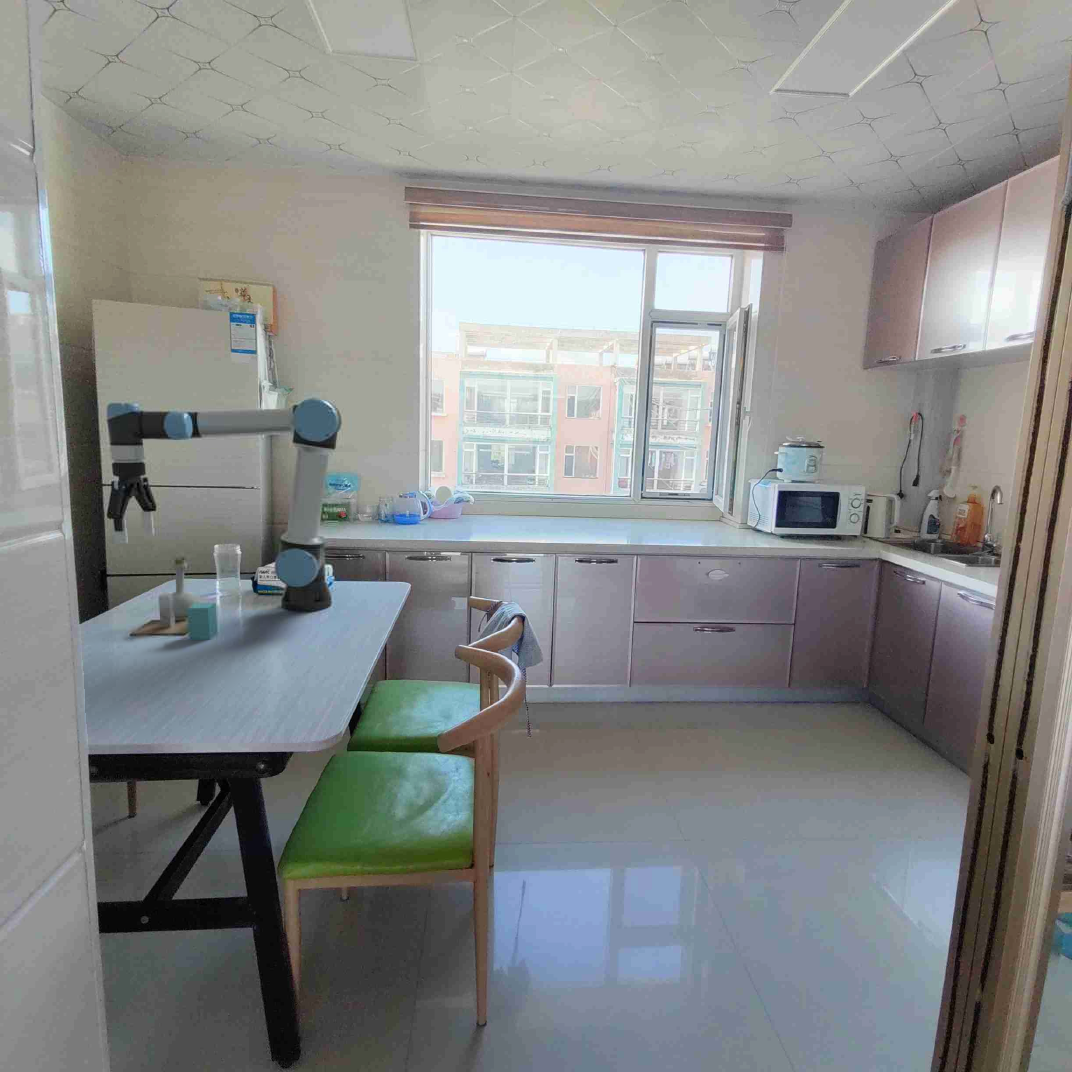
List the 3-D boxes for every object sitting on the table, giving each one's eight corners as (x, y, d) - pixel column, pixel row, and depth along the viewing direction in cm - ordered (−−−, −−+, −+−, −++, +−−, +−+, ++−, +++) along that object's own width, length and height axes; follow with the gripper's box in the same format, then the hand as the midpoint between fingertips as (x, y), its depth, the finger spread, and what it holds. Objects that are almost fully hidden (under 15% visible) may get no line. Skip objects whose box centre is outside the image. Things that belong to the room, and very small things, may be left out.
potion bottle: (204, 615, 183) (203, 555, 182) (185, 621, 174) (183, 558, 173) (176, 614, 184) (175, 554, 182) (156, 620, 175) (154, 557, 173)
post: (175, 624, 172) (172, 593, 170) (170, 627, 169) (168, 596, 168) (165, 624, 172) (162, 593, 170) (160, 627, 169) (158, 596, 167)
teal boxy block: (217, 632, 168) (215, 602, 167) (210, 639, 163) (208, 608, 161) (197, 633, 167) (195, 602, 166) (189, 639, 162) (187, 608, 161)
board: (203, 621, 177) (203, 619, 177) (185, 635, 166) (185, 633, 165) (152, 621, 176) (151, 619, 175) (129, 635, 164) (129, 633, 164)
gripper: (138, 458, 178) (145, 530, 181) (84, 463, 153) (93, 547, 157) (165, 459, 178) (171, 531, 182) (116, 464, 154) (125, 547, 158)
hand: (135, 538), depth 169 cm, fingers open, 13 cm apart
